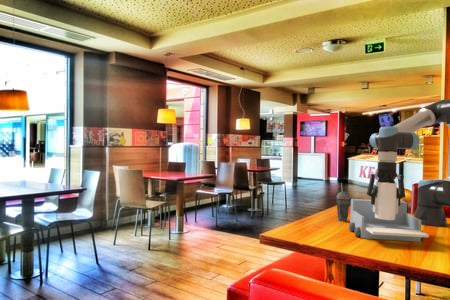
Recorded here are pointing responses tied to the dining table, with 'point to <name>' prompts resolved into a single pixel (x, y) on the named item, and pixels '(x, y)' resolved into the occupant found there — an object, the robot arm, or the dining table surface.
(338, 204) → the beverage cup
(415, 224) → the truck bed
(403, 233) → the tailgate
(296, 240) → the dining table surface
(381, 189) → the cup
